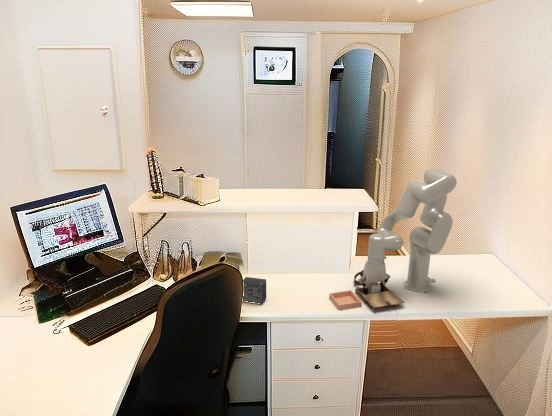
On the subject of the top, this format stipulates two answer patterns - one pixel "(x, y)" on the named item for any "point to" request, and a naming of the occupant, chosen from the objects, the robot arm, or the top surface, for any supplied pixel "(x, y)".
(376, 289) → the stone block
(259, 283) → the small box
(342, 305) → the terracotta tray
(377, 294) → the sliding lid wooden box
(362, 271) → the broken pottery ring
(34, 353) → the top surface
